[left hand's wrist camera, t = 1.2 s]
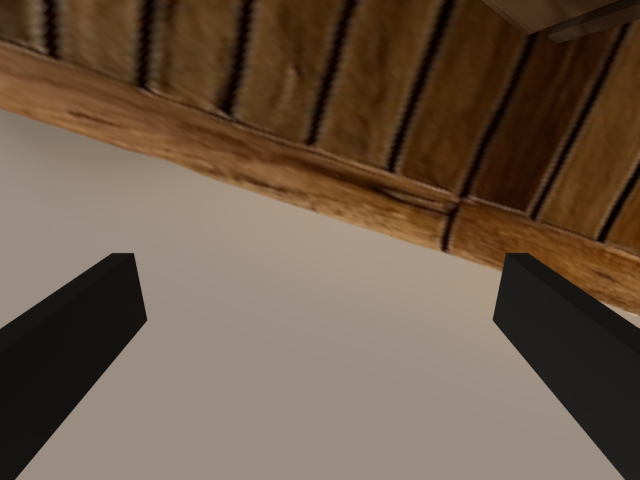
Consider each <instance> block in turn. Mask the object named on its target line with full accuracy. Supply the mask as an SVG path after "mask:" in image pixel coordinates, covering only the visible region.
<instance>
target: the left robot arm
mask: <svg viewBox="0 0 640 480" xmlns="http://www.w3.org/2000/svg"><path fill="white" fill-rule="evenodd" d="M146 321H147V316H146V311H145V306H144V301H143V296H142V291H141V286H140V281H139V276H138V272H137V267H136V262H135V257H134V253H112V254H110V255H109V256H107V257H106V258H104V259H103V260H101V261H100V262H98V263H97V264H95V265H94V266H92V267H91V268H90V269H88V270H86V271H85V272H84V273H82V274H81V275H79V276H78V277H76V278H75V279H73V280H72V281H70V282H69V283H67V284H66V285H64V286H63V287H61V288H60V289H58V290H57V291H56V292H54V293H53V294H51V295H50V296H48V297H47V298H45V299H44V300H42V301H41V302H39V303H38V304H36V305H35V306H33V307H32V308H30V309H29V310H27V311H26V312H25V313H23V314H22V315H20V316H19V317H17V318H16V319H14V320H13V321H11V322H10V323H8V324H7V325H5V326H4V327H2V328H1V329H0V480H15V479H16V478H17V477H18V475H19V474H20V473H21V472H22V471H23V469H24V468H25V467H26V466H27V465H28V463H29V462H30V461H31V460H32V459H33V457H34V456H35V455H36V454H37V453H38V451H39V450H40V449H41V448H42V447H43V445H44V444H45V443H46V442H47V441H48V439H49V438H50V437H51V436H52V434H53V433H54V432H55V431H56V430H57V428H58V427H59V426H60V425H61V424H62V422H63V421H64V420H65V419H66V418H67V416H68V415H69V414H70V413H71V412H72V410H73V409H74V408H75V407H76V406H77V404H78V403H79V402H80V401H81V400H82V398H83V397H84V396H85V395H86V394H87V392H88V391H89V390H90V389H91V388H92V386H93V385H94V384H95V383H96V381H97V380H98V379H99V378H100V377H101V375H102V374H103V373H104V372H105V371H106V369H107V368H108V367H109V366H110V365H111V363H112V362H113V361H114V360H115V359H116V357H117V356H118V355H119V354H120V353H121V351H122V350H123V349H124V348H125V347H126V345H127V344H128V343H129V342H130V340H131V339H132V338H133V337H134V336H135V335H136V333H137V332H138V331H139V330H140V328H141V327H142V326H143V325H144V324H145V322H146ZM493 321H494V322H495V324H496V325H497V326H498V327H499V329H500V330H501V331H502V332H503V333H504V335H505V336H506V337H507V338H508V339H509V341H510V342H511V343H512V344H513V345H514V347H515V348H516V349H517V350H518V351H519V353H520V354H521V355H522V356H523V357H524V359H525V360H526V361H527V362H528V363H529V365H530V366H531V367H532V368H533V369H534V371H535V372H536V373H537V374H538V375H539V377H540V378H541V379H542V380H543V381H544V383H545V384H546V385H547V386H548V388H549V389H550V390H551V391H552V392H553V393H554V395H555V396H556V397H557V398H558V400H559V401H560V402H561V403H562V404H563V406H564V407H565V408H566V409H567V410H568V412H569V413H570V414H571V415H572V416H573V418H574V419H575V420H576V421H577V422H578V424H579V425H580V426H581V427H582V428H583V430H584V431H585V432H586V433H587V434H588V436H589V437H590V438H591V439H592V441H593V442H594V443H595V444H596V445H597V447H598V448H599V449H600V450H601V451H602V453H603V454H604V455H605V456H606V457H607V459H608V460H609V461H610V462H611V463H612V465H613V466H614V467H615V468H616V469H617V471H618V472H619V473H620V474H621V475H622V477H623V478H624V479H625V480H640V328H638V327H636V326H635V325H633V324H632V323H630V322H629V321H627V320H626V319H624V318H623V317H621V316H620V315H618V314H617V313H616V312H614V311H613V310H611V309H610V308H608V307H607V306H605V305H604V304H602V303H601V302H599V301H598V300H596V299H595V298H593V297H592V296H590V295H589V294H587V293H586V292H585V291H583V290H582V289H580V288H579V287H577V286H576V285H574V284H573V283H571V282H570V281H568V280H567V279H565V278H564V277H562V276H561V275H559V274H558V273H556V272H555V271H554V270H552V269H551V268H549V267H548V266H546V265H545V264H543V263H542V262H540V261H539V260H537V259H536V258H534V257H533V256H531V255H530V254H528V253H506V257H505V262H504V267H503V271H502V276H501V281H500V286H499V291H498V297H497V301H496V306H495V311H494V316H493Z"/></svg>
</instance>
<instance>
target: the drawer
mask: <svg viewBox="0 0 640 480" xmlns="http://www.w3.org/2000/svg"><path fill="white" fill-rule="evenodd" d="M638 19H640V0H619V1H616V2H613V3H611V4H608V5H606V6H603V7H600V8H598V9H595V10H592V11H590V12H587V13H585V14H582V15H579V16H577V17H574V18H571V19H569V20H566V21H564V22H561V23H558V24H556V26H555V27H554V28H553V30H552V31H551V32H550V34H549V35H548V37H549V38H551V39H552V40H553V41H554V42H556V43H557V44H558V43H561V42H564V41H568V40H571V39H574V38H578V37H581V36H584V35H588V34H591V33H595V32H598V31H601V30H605V29H608V28H611V27H615V26H618V25H621V24H625V23H628V22H631V21H635V20H638Z"/></svg>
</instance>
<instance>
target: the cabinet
mask: <svg viewBox="0 0 640 480" xmlns="http://www.w3.org/2000/svg"><path fill="white" fill-rule="evenodd" d="M482 1H483V2H484V3H485V4H487V5H488V6H489V7H490V8H492V9H493V10H494V11H495V12H496V13H498V14H499V15H500V16H501V17H503V18H504V19H505V20H506V21H508V22H509V23H510V24H511V25H512V26H514V27H515V28H516V29H517V30H519V31H520V32H521V33H522V34H524V35H525V36H527V35H530V34H532V33H535V32H537V31H540V30H543V29H545V28H548V27H550V26H553V25H556V24H558V23H561V22H564V21H566V20H569V19H571V18H574V17H577V16H579V15H582V14H585V13H587V12H590V11H592V10H595V9H598V8H600V7H603V6H606V5H608V4H611V3H613V2H616V1H619V0H482Z"/></svg>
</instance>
